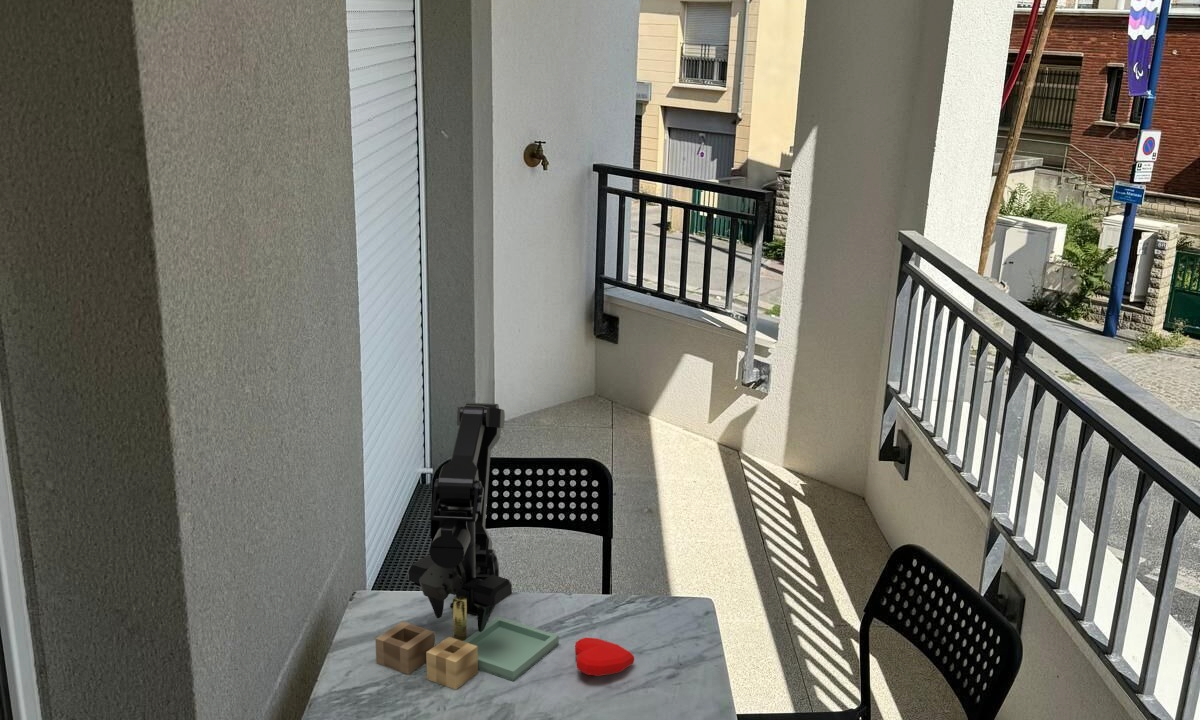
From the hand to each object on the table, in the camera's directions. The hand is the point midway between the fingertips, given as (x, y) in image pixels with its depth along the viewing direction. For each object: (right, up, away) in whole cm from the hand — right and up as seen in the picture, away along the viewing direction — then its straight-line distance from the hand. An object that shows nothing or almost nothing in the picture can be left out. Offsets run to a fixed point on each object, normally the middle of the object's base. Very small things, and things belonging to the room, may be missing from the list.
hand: (460, 624), depth 193 cm
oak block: (0, -6, -11) cm, 12 cm away
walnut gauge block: (-9, -5, -6) cm, 11 cm away
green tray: (+8, -4, -3) cm, 10 cm away
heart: (+25, -6, -7) cm, 27 cm away
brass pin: (0, -3, +1) cm, 3 cm away
